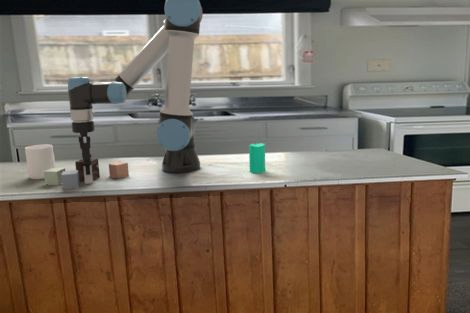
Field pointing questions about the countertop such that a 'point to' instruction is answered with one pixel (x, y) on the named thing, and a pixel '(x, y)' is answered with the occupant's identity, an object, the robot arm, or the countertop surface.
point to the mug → (39, 160)
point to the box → (94, 169)
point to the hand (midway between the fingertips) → (88, 178)
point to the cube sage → (53, 176)
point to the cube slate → (70, 179)
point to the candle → (257, 158)
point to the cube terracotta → (118, 169)
